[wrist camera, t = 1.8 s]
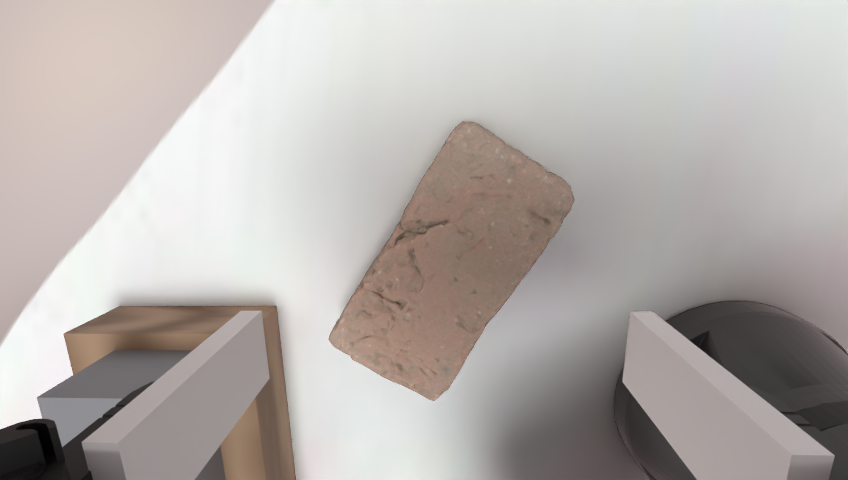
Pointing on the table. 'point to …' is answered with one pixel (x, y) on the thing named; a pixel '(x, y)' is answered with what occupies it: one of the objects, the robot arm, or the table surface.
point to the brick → (452, 261)
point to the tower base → (185, 330)
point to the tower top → (111, 394)
